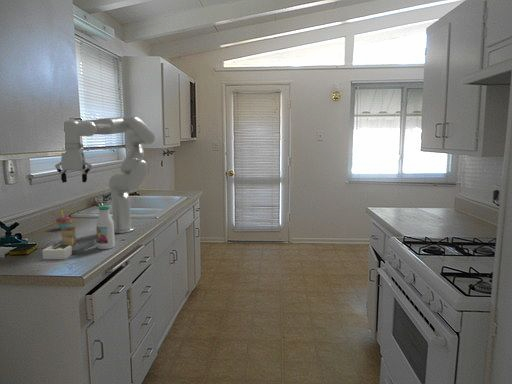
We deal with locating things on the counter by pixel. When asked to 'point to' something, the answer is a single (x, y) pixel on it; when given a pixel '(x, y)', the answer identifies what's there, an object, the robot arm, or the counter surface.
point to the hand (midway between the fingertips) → (74, 182)
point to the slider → (68, 236)
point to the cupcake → (64, 221)
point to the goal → (57, 253)
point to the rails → (61, 244)
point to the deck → (78, 249)
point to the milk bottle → (105, 229)
